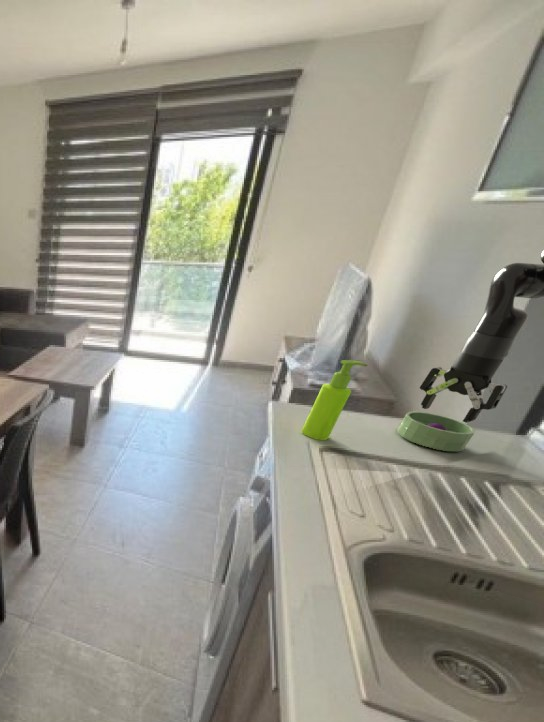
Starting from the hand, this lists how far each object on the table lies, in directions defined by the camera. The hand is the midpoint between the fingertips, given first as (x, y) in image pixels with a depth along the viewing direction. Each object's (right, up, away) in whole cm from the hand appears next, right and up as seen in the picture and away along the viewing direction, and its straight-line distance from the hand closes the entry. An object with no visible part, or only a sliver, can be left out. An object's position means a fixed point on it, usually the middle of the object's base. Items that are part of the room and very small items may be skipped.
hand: (445, 414), depth 122 cm
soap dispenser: (-30, -5, +4) cm, 31 cm away
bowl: (-1, -7, +4) cm, 8 cm away
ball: (0, -4, +2) cm, 5 cm away
